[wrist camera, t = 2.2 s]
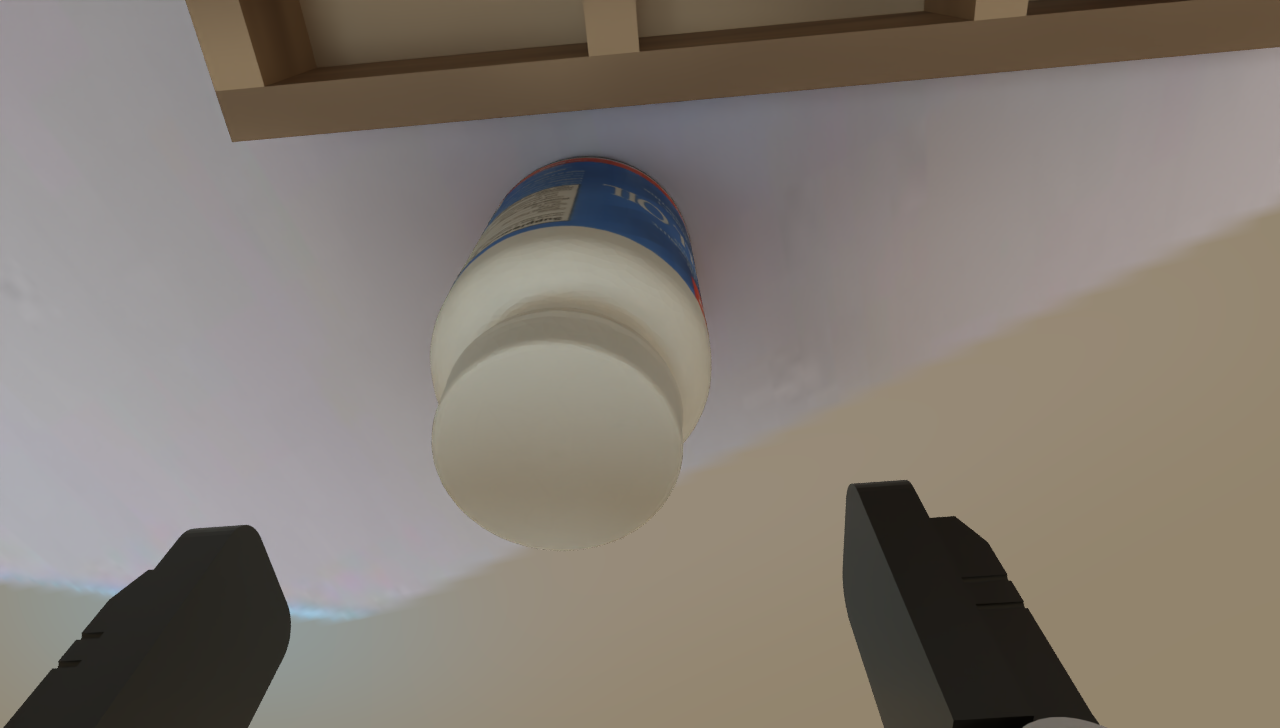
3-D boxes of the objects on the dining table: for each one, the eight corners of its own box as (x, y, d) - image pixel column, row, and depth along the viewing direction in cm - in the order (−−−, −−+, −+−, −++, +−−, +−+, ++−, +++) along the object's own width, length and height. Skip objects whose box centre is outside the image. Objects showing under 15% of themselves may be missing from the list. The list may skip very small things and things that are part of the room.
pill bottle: (725, 284, 21) (790, 510, 13) (562, 372, 22) (520, 632, 14) (622, 107, 19) (615, 234, 10) (447, 216, 20) (311, 411, 12)
